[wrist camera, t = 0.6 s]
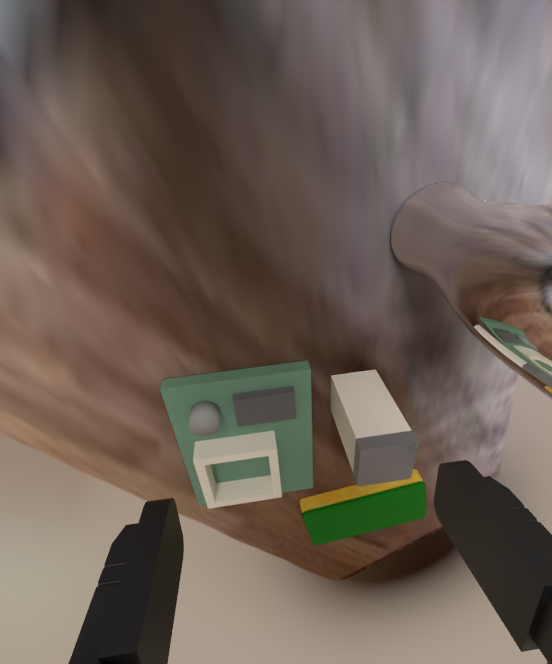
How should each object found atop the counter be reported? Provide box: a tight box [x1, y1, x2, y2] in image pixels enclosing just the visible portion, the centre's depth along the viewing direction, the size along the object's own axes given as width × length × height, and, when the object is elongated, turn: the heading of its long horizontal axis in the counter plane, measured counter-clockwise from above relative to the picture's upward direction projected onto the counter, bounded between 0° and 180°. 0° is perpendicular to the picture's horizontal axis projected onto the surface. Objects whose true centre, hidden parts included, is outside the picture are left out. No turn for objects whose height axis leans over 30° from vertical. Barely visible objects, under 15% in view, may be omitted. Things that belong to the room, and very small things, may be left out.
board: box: [160, 360, 313, 509], centre depth 31 cm, size 16×12×3 cm
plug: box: [330, 370, 419, 487], centre depth 28 cm, size 4×4×8 cm
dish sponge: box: [300, 469, 426, 545], centre depth 40 cm, size 7×14×2 cm, turn 104°
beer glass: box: [391, 182, 552, 399], centre depth 17 cm, size 7×7×15 cm
